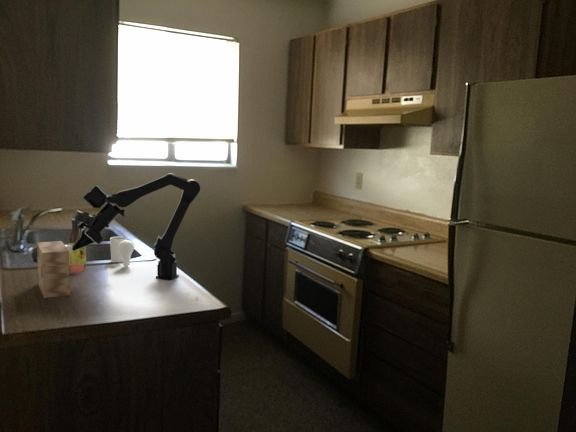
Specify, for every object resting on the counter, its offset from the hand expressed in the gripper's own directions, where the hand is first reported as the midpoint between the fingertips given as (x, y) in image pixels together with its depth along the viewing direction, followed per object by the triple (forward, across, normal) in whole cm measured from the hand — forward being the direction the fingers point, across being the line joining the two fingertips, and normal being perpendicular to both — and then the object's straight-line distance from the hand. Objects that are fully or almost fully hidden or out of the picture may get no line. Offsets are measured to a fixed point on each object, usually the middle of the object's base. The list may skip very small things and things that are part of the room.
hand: (72, 249), depth 190 cm
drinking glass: (-7, -27, +24) cm, 37 cm away
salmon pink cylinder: (+5, +12, +3) cm, 13 cm away
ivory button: (+3, 0, -2) cm, 4 cm away
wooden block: (+14, +6, +4) cm, 15 cm away
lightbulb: (-7, -17, +25) cm, 31 cm away
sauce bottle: (+6, -20, +12) cm, 24 cm away
